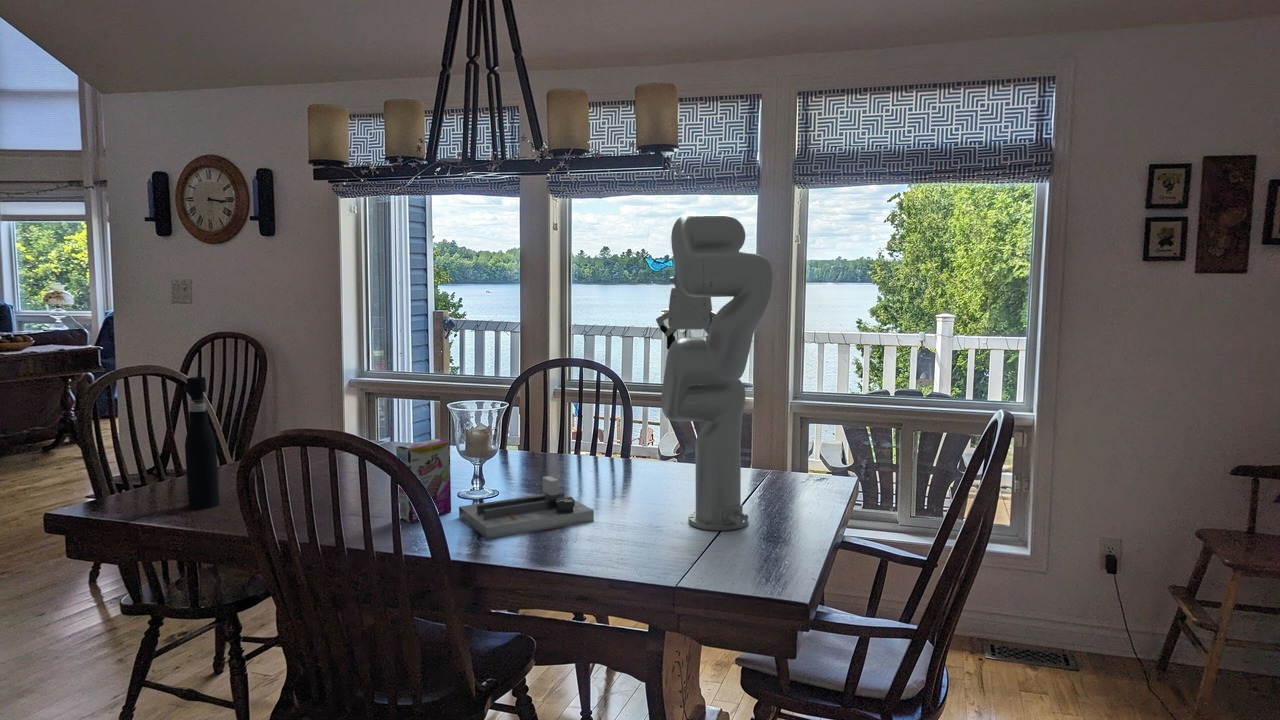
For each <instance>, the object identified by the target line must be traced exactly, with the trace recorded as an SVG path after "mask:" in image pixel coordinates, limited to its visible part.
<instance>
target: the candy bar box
mask: <svg viewBox="0 0 1280 720" xmlns="http://www.w3.org/2000/svg"><path fill="white" fill-rule="evenodd" d="M395 449H396V458H397V457H398V458H399V459H401V460H402V461H403V462H404V463H405V464H406V465H407V466H408V467H409V468H410V469H411V470H412V471H413V472H414V473H415V475H416V476H417V477H418V478H419V479H420V481H421V482H422V483H423V485H424V486H425V488H426V489H427V491H428V492H429V494H430V496H431V497H432V499H433V501H434V503H435V505H436V507H437V509H438V512H439V515H438V516H441V515H445V514H448V513H451V512H452V490H451V489H452V487H451V485H452V484H451V441H449V440H445V439H439V438H436V439H435V438H434V439H429V440H424V441H418V442H412V443H411V442H410V443H407V444H400V445H396V448H395ZM399 503H400V516H401V520H400V521H403V522H407V523H410V524H411V523H414V522H418V521H420V520H418V517H417V515H416V513H415V511H414V509H413V507H412V505H411V503H410V501H409V499H408V498H407V496H406V494H405V493H404V491H403V490H402V489H401V488H400V487H399Z"/></svg>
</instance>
